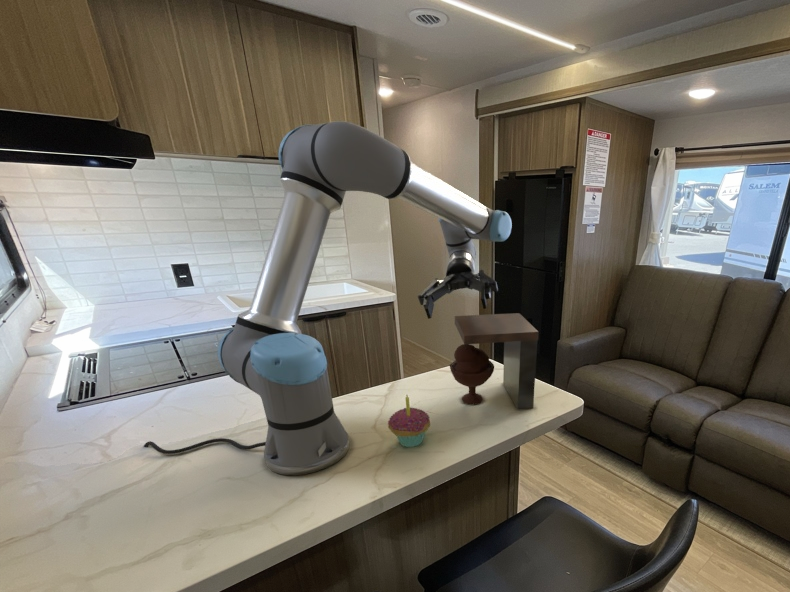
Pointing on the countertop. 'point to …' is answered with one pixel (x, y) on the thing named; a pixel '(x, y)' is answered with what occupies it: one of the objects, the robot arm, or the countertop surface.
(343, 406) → the countertop surface
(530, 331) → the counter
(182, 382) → the countertop surface
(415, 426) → the cupcake
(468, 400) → the ice cream bowl
